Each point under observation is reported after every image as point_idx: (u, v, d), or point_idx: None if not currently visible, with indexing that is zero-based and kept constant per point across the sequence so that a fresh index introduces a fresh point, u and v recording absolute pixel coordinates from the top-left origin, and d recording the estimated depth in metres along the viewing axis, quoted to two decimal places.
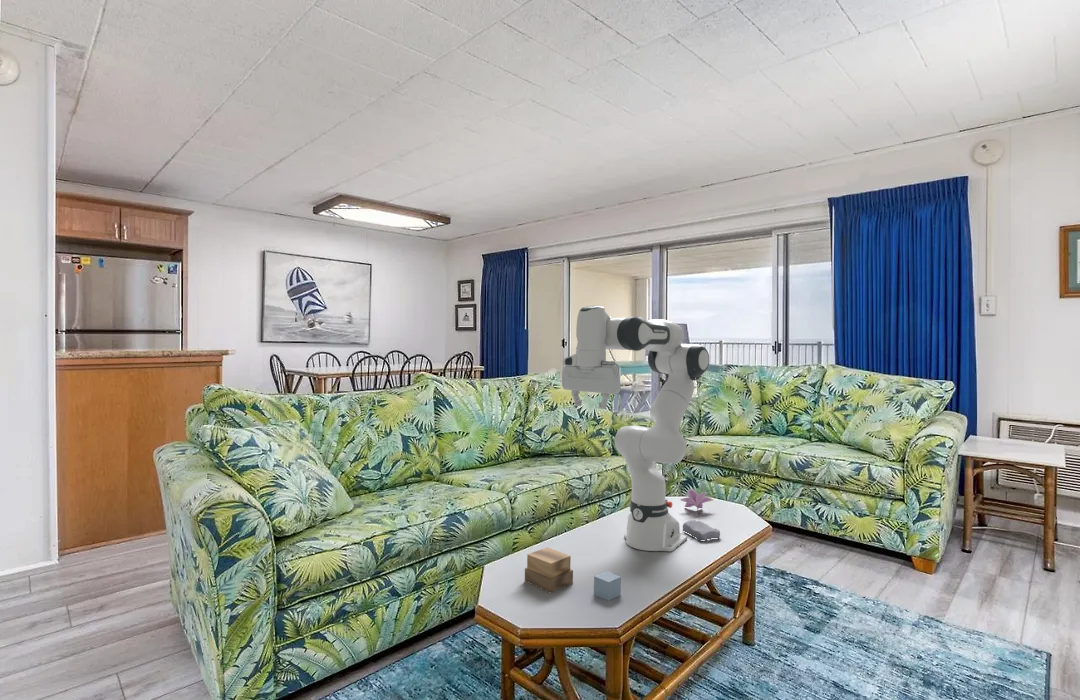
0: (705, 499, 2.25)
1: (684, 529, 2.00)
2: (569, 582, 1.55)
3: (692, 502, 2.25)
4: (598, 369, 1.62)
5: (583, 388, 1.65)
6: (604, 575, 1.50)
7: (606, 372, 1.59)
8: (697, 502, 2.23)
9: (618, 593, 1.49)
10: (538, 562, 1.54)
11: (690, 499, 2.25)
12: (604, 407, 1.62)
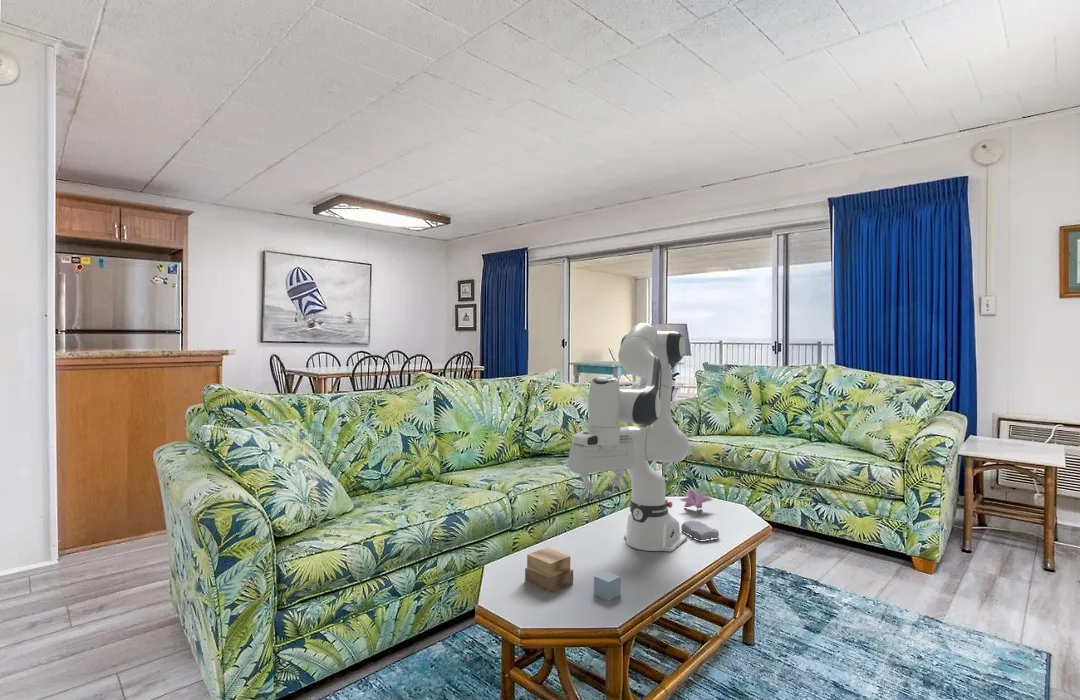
0: (705, 499, 2.26)
1: (683, 529, 2.00)
2: (569, 582, 1.55)
3: (692, 502, 2.25)
4: (620, 445, 1.53)
5: (603, 468, 1.51)
6: (603, 575, 1.50)
7: (629, 447, 1.55)
8: (697, 502, 2.24)
9: (618, 593, 1.49)
10: (538, 562, 1.54)
11: (690, 499, 2.25)
12: None
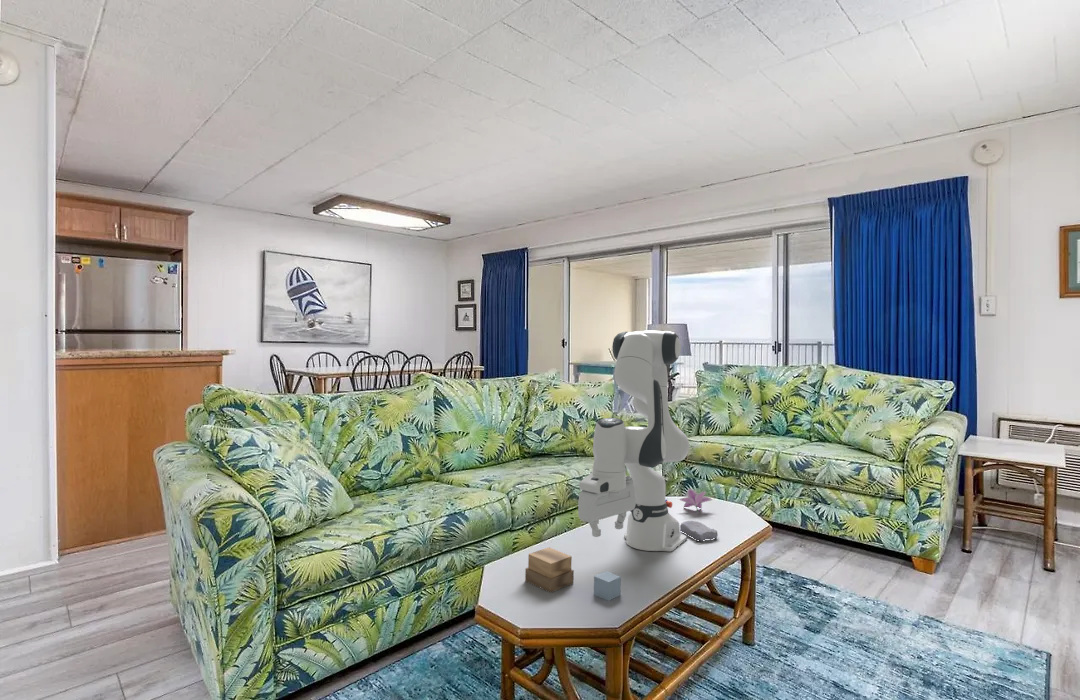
0: (704, 499, 2.26)
1: (681, 529, 1.99)
2: (569, 582, 1.55)
3: (691, 502, 2.25)
4: (624, 488, 1.51)
5: (611, 514, 1.47)
6: (604, 575, 1.50)
7: (631, 488, 1.53)
8: (696, 502, 2.24)
9: (618, 593, 1.49)
10: (539, 562, 1.54)
11: (689, 499, 2.25)
12: None
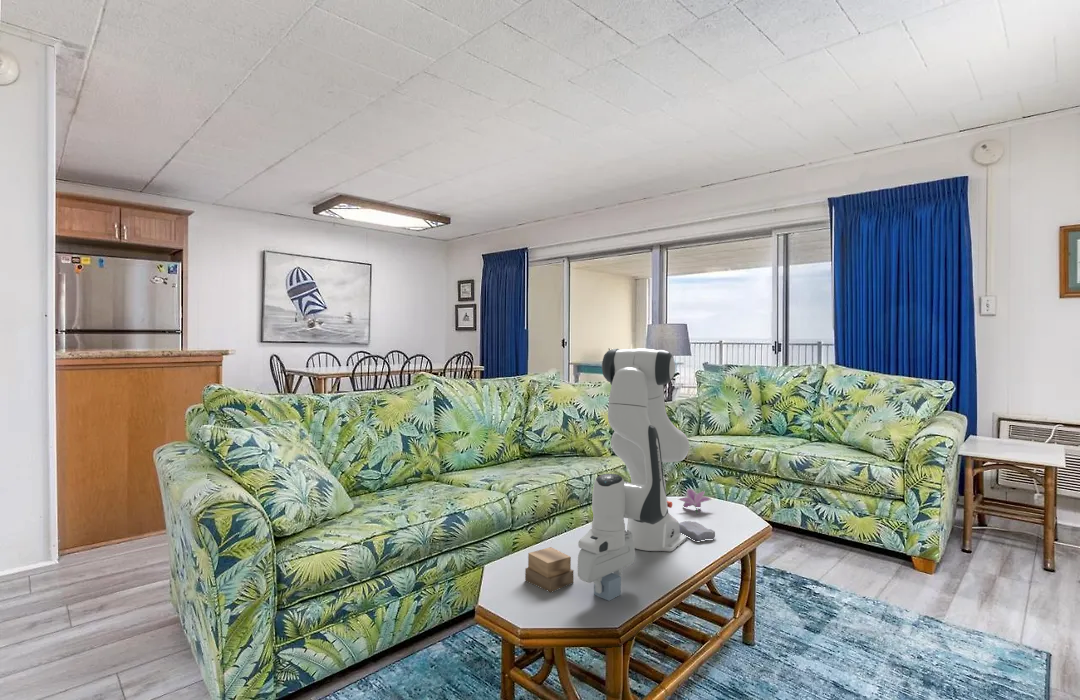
0: (703, 498, 2.26)
1: None
2: (569, 582, 1.55)
3: (690, 502, 2.25)
4: None
5: (610, 571, 1.47)
6: None
7: (630, 543, 1.53)
8: (695, 501, 2.24)
9: (618, 593, 1.49)
10: (537, 561, 1.55)
11: (689, 499, 2.25)
12: None
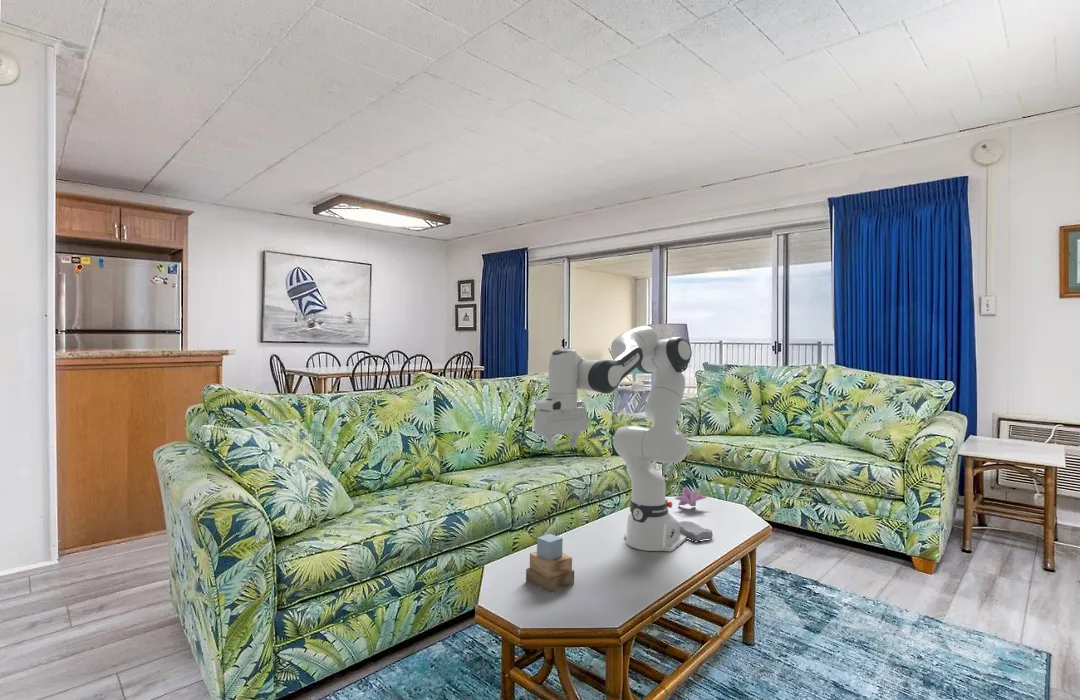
0: (699, 497, 2.28)
1: None
2: (570, 582, 1.55)
3: (686, 500, 2.27)
4: (576, 409, 1.71)
5: (564, 431, 1.68)
6: (546, 536, 1.57)
7: (583, 411, 1.74)
8: (691, 500, 2.26)
9: (560, 553, 1.56)
10: (538, 561, 1.54)
11: (684, 497, 2.27)
12: None
